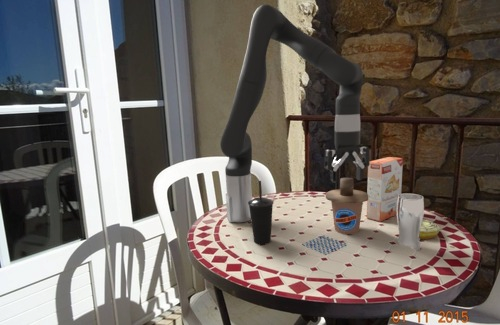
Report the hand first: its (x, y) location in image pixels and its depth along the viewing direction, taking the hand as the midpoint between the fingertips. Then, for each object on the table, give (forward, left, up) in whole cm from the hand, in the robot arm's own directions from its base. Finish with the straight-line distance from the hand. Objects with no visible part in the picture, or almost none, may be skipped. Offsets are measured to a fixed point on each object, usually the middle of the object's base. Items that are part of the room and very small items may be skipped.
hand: (346, 181), depth 106 cm
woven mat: (-12, -8, -18) cm, 23 cm away
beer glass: (+11, -15, -18) cm, 26 cm away
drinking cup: (-28, +1, -18) cm, 33 cm away
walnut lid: (0, 0, -5) cm, 5 cm away
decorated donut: (+21, -8, -18) cm, 29 cm away
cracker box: (+21, +10, -18) cm, 29 cm away
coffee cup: (0, 0, -18) cm, 18 cm away
